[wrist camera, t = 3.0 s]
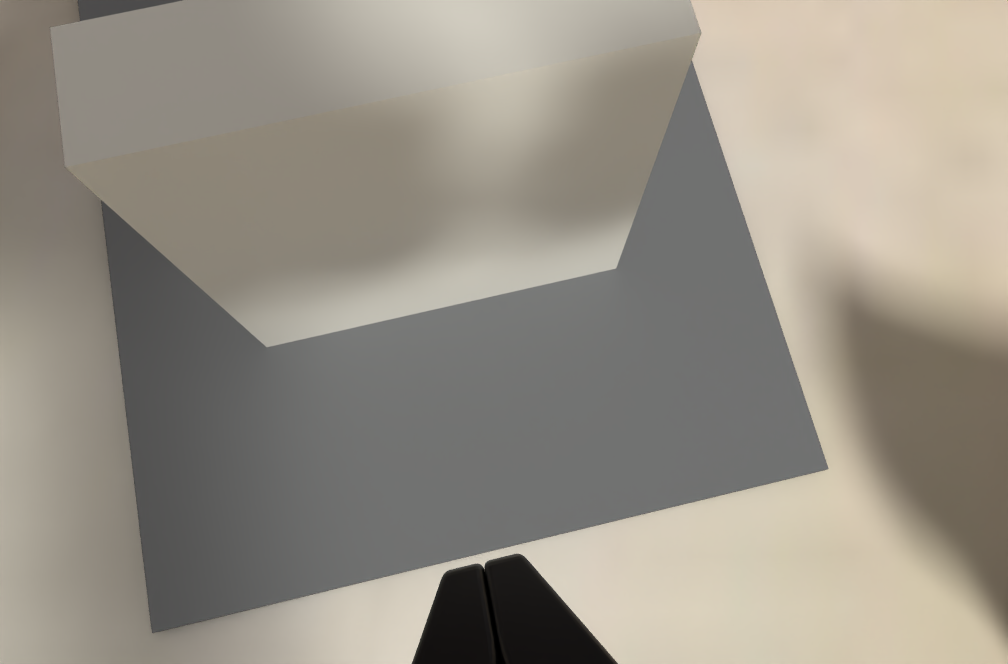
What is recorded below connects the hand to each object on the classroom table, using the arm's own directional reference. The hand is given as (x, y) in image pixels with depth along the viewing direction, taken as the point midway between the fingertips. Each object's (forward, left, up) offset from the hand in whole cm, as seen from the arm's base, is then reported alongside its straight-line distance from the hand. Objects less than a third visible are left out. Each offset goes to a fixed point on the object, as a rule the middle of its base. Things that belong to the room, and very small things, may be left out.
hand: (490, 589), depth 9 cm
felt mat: (+6, -10, -14) cm, 18 cm away
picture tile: (+5, -7, -13) cm, 16 cm away
